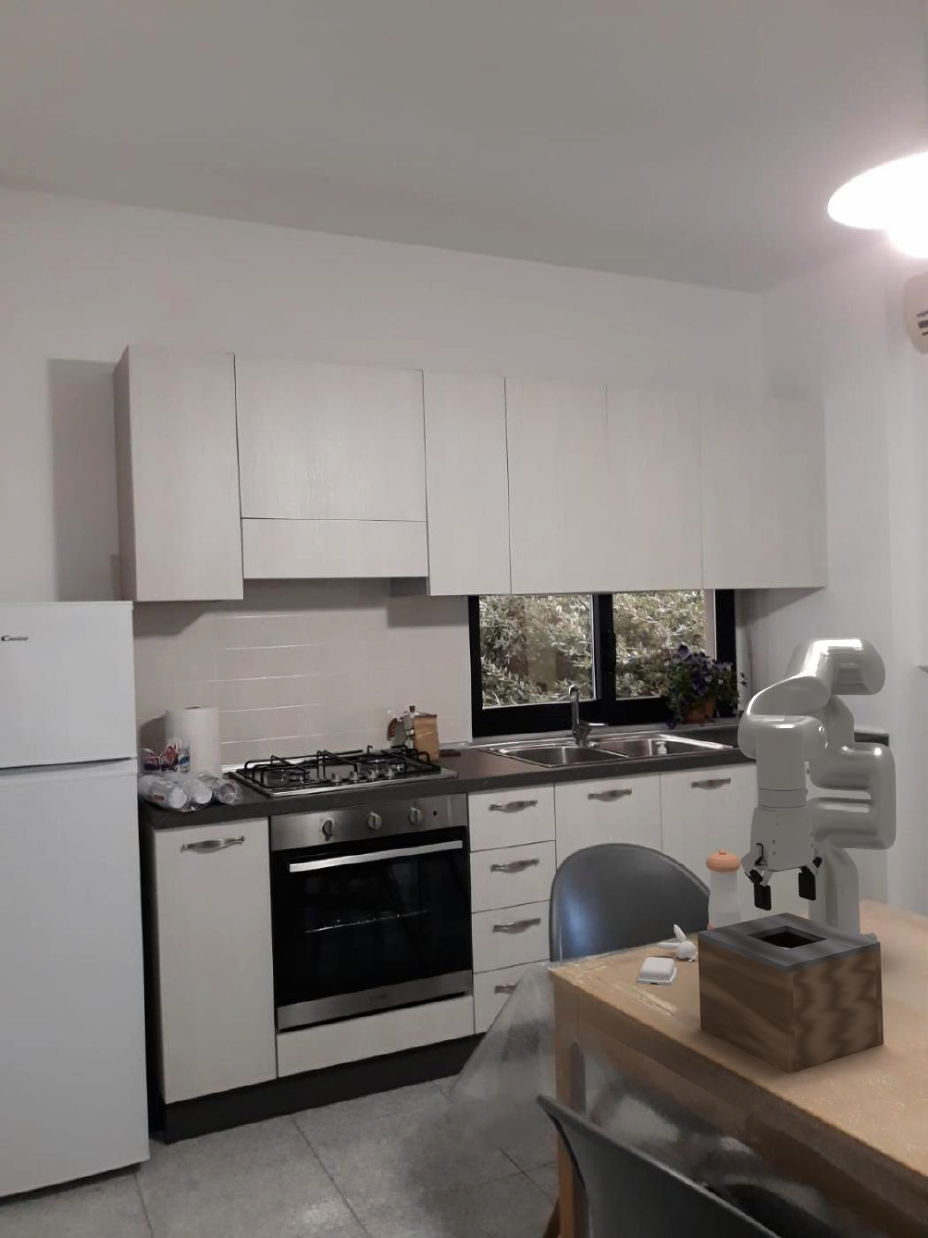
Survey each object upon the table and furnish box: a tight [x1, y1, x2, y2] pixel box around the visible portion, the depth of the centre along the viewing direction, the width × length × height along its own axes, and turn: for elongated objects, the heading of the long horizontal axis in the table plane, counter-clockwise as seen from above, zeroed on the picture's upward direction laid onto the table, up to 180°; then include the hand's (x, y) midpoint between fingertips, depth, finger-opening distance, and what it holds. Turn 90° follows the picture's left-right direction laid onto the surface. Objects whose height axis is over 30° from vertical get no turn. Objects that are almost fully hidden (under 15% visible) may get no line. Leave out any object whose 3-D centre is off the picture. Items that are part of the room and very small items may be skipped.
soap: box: [637, 956, 678, 986], centre depth 200 cm, size 9×7×3 cm
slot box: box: [696, 912, 885, 1074], centre depth 170 cm, size 20×20×16 cm
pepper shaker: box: [705, 849, 742, 930], centre depth 218 cm, size 7×7×19 cm
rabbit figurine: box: [656, 924, 698, 963], centre depth 210 cm, size 6×4×8 cm
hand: (785, 903), depth 170 cm, fingers open, 9 cm apart
